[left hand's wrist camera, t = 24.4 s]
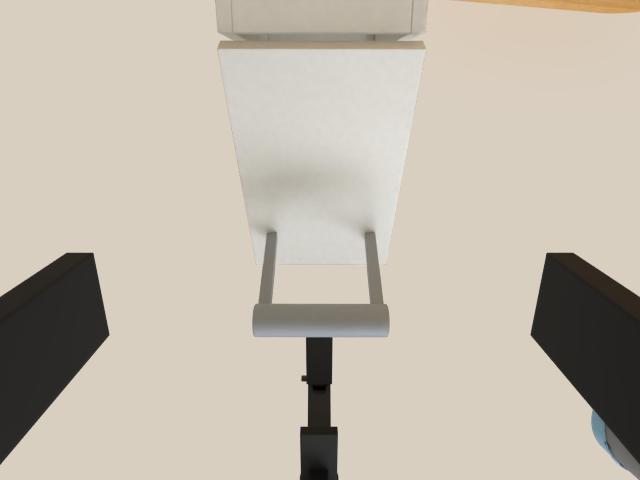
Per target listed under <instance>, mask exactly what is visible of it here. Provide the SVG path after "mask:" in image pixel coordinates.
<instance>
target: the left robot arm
mask: <svg viewBox="0 0 640 480" xmlns="http://www.w3.org/2000/svg"><path fill="white" fill-rule="evenodd" d="M108 336H109V330H108V325H107V320H106V315H105V310H104V305H103V300H102V294H101V289H100V285H99V279H98V274H97V269H96V264H95V259H94V254H93V253H66V254H64V255H63V256H61V257H60V258H58V259H57V260H55V261H54V262H52V263H51V264H49V265H48V266H46V267H45V268H43V269H42V270H40V271H39V272H37V273H36V274H34V275H33V276H31V277H30V278H28V279H27V280H25V281H24V282H22V283H21V284H19V285H18V286H16V287H15V288H13V289H12V290H10V291H8V292H7V293H5V294H4V295H2V296H1V297H0V464H1V463H2V462H3V461H4V460H5V458H6V457H7V456H8V455H9V454H10V452H11V451H12V450H13V449H14V448H15V447H16V445H17V444H18V443H19V442H20V441H21V439H22V438H23V437H24V436H25V435H26V434H27V432H28V431H29V430H30V429H31V428H32V426H33V425H34V424H35V423H36V422H37V420H38V419H39V418H40V417H41V416H42V415H43V413H44V412H45V411H46V410H47V409H48V407H49V406H50V405H51V404H52V403H53V401H54V400H55V399H56V398H57V397H58V396H59V394H60V393H61V392H62V391H63V390H64V388H65V387H66V386H67V385H68V384H69V382H70V381H71V380H72V379H73V378H74V376H75V375H76V374H77V373H78V372H79V371H80V369H81V368H82V367H83V366H84V365H85V363H86V362H87V361H88V360H89V359H90V358H91V356H92V355H93V354H94V353H95V352H96V350H97V349H98V348H99V347H100V346H101V344H102V343H103V342H104V341H105V340H106V339H107V337H108ZM531 336H532V337H533V339H534V340H535V341H536V342H537V343H538V344H539V346H540V347H541V348H542V349H543V350H544V352H545V353H546V354H547V355H548V356H549V357H550V359H551V360H552V361H553V362H554V363H555V365H556V366H557V367H558V368H559V369H560V371H561V372H562V373H563V374H564V375H565V377H566V378H567V379H568V380H569V381H570V382H571V384H572V385H573V386H574V387H575V388H576V390H577V391H578V392H579V393H580V394H581V396H582V397H583V398H584V399H585V400H586V401H587V403H588V404H589V405H590V406H591V407H592V409H593V410H594V411H595V412H596V413H597V415H598V416H599V417H600V418H601V419H602V420H603V422H604V423H605V424H606V425H607V426H608V428H609V429H610V430H611V431H612V432H613V434H614V435H615V436H616V437H617V438H618V439H619V441H620V442H621V443H622V444H623V445H624V447H625V448H626V449H627V450H628V451H629V453H630V454H631V455H632V456H633V457H634V458H635V460H636V461H637V462H638V463H639V464H640V297H639V296H637V295H636V294H634V293H633V292H631V291H630V290H628V289H627V288H625V287H624V286H622V285H621V284H619V283H618V282H616V281H615V280H613V279H612V278H610V277H609V276H607V275H606V274H604V273H603V272H601V271H600V270H598V269H597V268H595V267H594V266H592V265H591V264H589V263H588V262H586V261H585V260H583V259H582V258H580V257H579V256H577V255H576V254H574V253H547V254H546V259H545V264H544V269H543V274H542V279H541V284H540V289H539V294H538V299H537V305H536V310H535V315H534V320H533V325H532V330H531Z"/></svg>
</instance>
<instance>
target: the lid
mask: <svg viewBox="0 0 640 480" xmlns="http://www.w3.org/2000/svg"><path fill="white" fill-rule="evenodd" d="M217 51H218V56H219V61H220V67H221V73H222V79H223V84H224V90H225V95H226V101H227V106H228V112H229V117H230V123H231V129H232V134H233V140H234V145H235V151H236V156H237V162H238V167H239V173H240V179H241V184H242V190H243V195H244V201H245V207H246V212H247V218H248V223H249V229H250V234H251V240H252V246H253V251H254V257H255V262H256V265H263V269H262V278H261V286H260V295H259V303H258V304H255V306H254V310H253V320H252V326H253V334H254V336H255V337H388V334H389V310H388V307H387V305H386V304H383V295H382V287H381V278H380V269H379V265H386V262H387V257H388V251H389V246H390V241H391V235H392V230H393V224H394V219H395V214H396V208H397V203H398V198H399V192H400V187H401V181H402V176H403V171H404V165H405V160H406V154H407V149H408V144H409V138H410V133H411V127H412V122H413V117H414V111H415V106H416V101H417V95H418V90H419V84H420V79H421V74H422V68H423V63H424V57H425V52H426V48H425V45H424V42H423V41H220V43H219V46H218V48H217ZM275 265H367V273H368V284H369V295H370V304H272V294H273V284H274V273H275Z"/></svg>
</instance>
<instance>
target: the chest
mask: <svg viewBox="0 0 640 480" xmlns="http://www.w3.org/2000/svg"><path fill="white" fill-rule="evenodd" d="M215 2H216V16H217V30H218V33H220V34H222V35H224V36H226V37H228V38H230V39H232V40H234V41H409V40H411V39H413V38H415V37H417V36H419V35H421V34H423V33H425V32H426V20H427V7H428V0H215Z"/></svg>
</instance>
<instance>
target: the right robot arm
mask: <svg viewBox="0 0 640 480" xmlns="http://www.w3.org/2000/svg"><path fill="white" fill-rule="evenodd" d="M306 368H307V376H302V381H307V384H308V427H301V430H300V449H301V475H300V480H338V473H337V446H338V430H337V427H331V417H330V415H331V413H330V384H332V337H306ZM591 423H592V430H593V433H594V436H595V438H596V440H597V441H598V443H599V444H600V445H601V446H602V447H603V448H604V449H605V450H606V451H607V452H608V453H609V454H610V455H611V457H612V458H613V459H614V461H615V462H616V463H617V464H619V465H620V466H621V467H623V468H624V469H626V470H628V471H630V472H631V473H632V474H633V475H634V476H635V477H636V478H637V479H639V480H640V464H639V463H638V462H637V461H636V460H635V458H634V457H633V456H632V455H631V454H630V453H629V451H628V450H627V449H626V448H625V447H624V445H623V444H622V443H621V442H620V441H619V439H618V438H617V437H616V436H615V435H614V434H613V432H612V431H611V430H610V429H609V428H608V426H607V425H606V424H605V423H604V422H603V420H602V419H601V418H600V417H599V416H598V415H597V413H596V412H595V411H594V410H593V411H592V420H591Z"/></svg>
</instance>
